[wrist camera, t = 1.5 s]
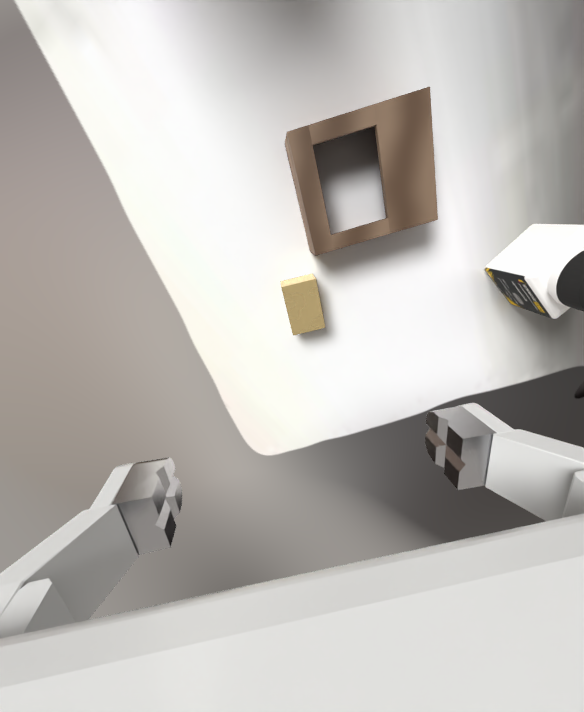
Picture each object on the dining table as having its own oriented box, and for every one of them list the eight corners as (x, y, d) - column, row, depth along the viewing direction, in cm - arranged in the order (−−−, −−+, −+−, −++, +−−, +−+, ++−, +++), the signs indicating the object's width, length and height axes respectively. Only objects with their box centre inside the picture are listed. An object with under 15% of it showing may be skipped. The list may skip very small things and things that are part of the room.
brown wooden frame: (407, 104, 31) (429, 86, 26) (417, 219, 35) (437, 219, 31) (284, 143, 31) (287, 132, 27) (310, 251, 36) (315, 255, 32)
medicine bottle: (482, 267, 38) (567, 287, 27) (532, 222, 36) (645, 224, 25) (510, 304, 40) (598, 336, 30) (558, 263, 39) (672, 281, 28)
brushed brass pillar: (312, 273, 37) (316, 278, 34) (320, 318, 40) (325, 327, 36) (280, 281, 37) (281, 287, 34) (291, 325, 40) (293, 335, 37)
